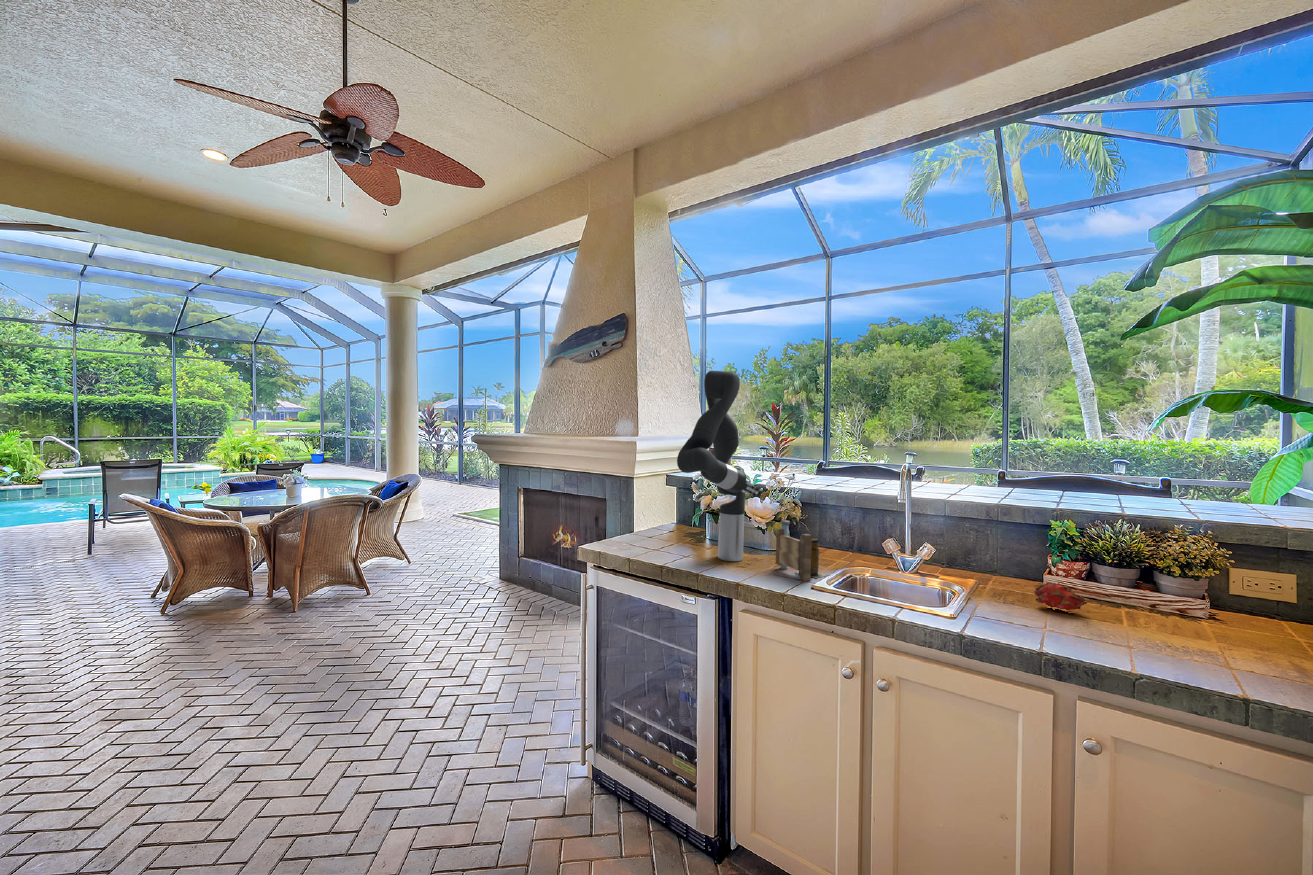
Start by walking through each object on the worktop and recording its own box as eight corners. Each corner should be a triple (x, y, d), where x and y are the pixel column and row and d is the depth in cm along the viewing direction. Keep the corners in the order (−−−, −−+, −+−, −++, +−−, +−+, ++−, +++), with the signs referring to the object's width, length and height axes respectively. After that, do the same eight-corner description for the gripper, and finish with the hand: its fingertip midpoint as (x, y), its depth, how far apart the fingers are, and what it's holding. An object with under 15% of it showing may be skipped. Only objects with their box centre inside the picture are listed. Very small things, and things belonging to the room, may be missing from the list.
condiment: (806, 570, 185) (807, 536, 185) (827, 575, 178) (829, 540, 178) (794, 573, 180) (795, 538, 180) (815, 578, 173) (816, 542, 173)
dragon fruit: (1029, 609, 153) (1081, 625, 146) (1031, 598, 147) (1086, 615, 140) (1035, 583, 157) (1086, 598, 149) (1038, 572, 151) (1091, 586, 143)
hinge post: (799, 579, 172) (801, 533, 171) (805, 579, 172) (807, 533, 172) (804, 581, 169) (805, 535, 169) (810, 581, 170) (811, 535, 170)
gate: (775, 565, 186) (776, 528, 185) (779, 565, 186) (780, 528, 186) (800, 576, 172) (801, 536, 172) (804, 575, 172) (805, 536, 172)
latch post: (777, 567, 187) (778, 520, 186) (784, 566, 188) (786, 520, 188) (782, 569, 184) (784, 521, 183) (790, 569, 185) (791, 521, 185)
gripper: (747, 474, 162) (778, 491, 172) (720, 460, 173) (751, 477, 183) (736, 495, 162) (768, 511, 173) (709, 480, 173) (741, 496, 183)
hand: (759, 493), depth 178 cm, fingers closed
